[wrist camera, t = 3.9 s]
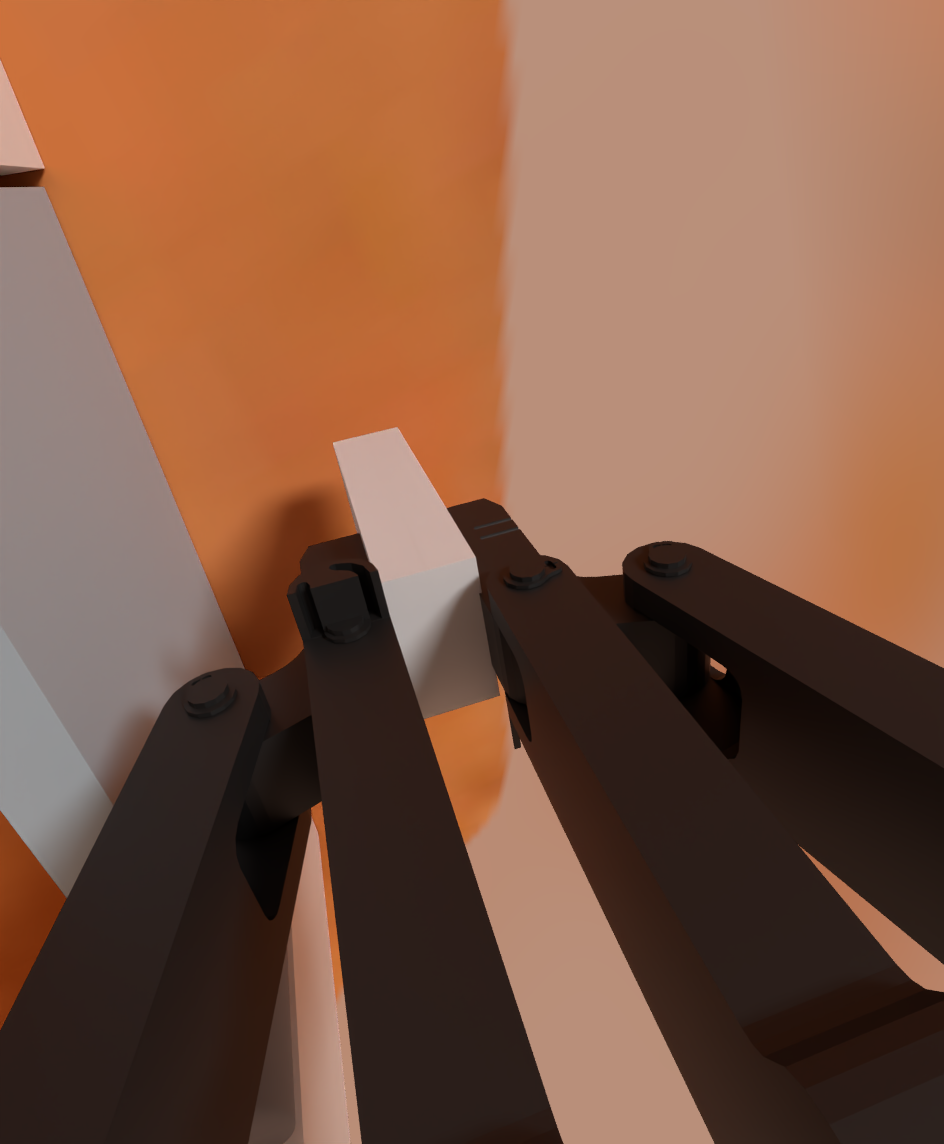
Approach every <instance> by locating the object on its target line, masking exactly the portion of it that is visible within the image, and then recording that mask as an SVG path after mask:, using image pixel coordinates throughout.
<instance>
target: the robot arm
mask: <svg viewBox="0 0 944 1144" xmlns="http://www.w3.org/2000/svg"><path fill="white" fill-rule="evenodd" d="M333 446H334V449H335V453H336V457H337V460H338V464H339V468H340V471H341V475H342V479H343V482H344V486H345V490H346V493H347V497H348V501H349V504H350V508H351V512H352V515H353V519H354V523H355V526H356V530H357V534H354V535H350V536H346V537H343V538H339V539H335V540H331V541H327V542H324V543H320V544H316V545H312V546H309V547H308V549H307V550H306V552H305V554H304V555H303V557H302V559H301V560H300V569H301V575H299V576H298V577H297V578H296V579H295V580H294V581H293V582H292V583H291V584H290V586H289V589H288V593H287V597H288V600H289V603H290V606H291V609H292V612H293V614H294V617H295V620H296V623H297V626H298V629H299V631H300V634H301V637H302V640H303V645H304V649H303V650H302V651H301V653H300V654H299V655H298V656H297V657H296V658H295V659H294V660H293V661H291V662H290V663H289V664H288V665H286V666H285V667H283V668H281V669H280V670H278V671H276V672H275V673H273V674H271V675H269V676H267V677H265V678H263V679H261V680H258V678H257V677H256V676H255V674H254V673H253V672H251V671H248V670H245V669H243V668H222V669H218V670H215V671H211V672H207V673H204V674H202V675H200V676H197V677H196V678H194V679H192V680H190V681H188V682H187V683H186V684H184V685H183V686H182V687H181V688H179V689H178V690H177V691H175V692H174V693H173V694H172V696H171V697H170V698H169V700H168V701H167V702H166V704H165V705H164V707H163V708H162V710H161V712H160V714H159V716H158V718H157V720H156V722H155V724H154V726H153V728H152V730H151V732H150V734H149V736H148V738H147V740H146V742H145V744H144V746H143V748H142V750H141V752H140V754H139V756H138V758H137V760H136V762H135V764H134V766H133V768H132V770H131V772H130V774H129V776H128V778H127V780H126V782H125V784H124V786H123V788H122V790H121V792H120V794H119V796H118V798H117V800H116V802H115V804H114V806H113V808H112V810H111V812H110V814H109V816H108V818H107V820H106V822H105V824H104V826H103V828H102V830H101V832H100V834H99V836H98V838H97V840H96V842H95V844H94V846H93V848H92V849H91V851H90V853H89V855H88V857H87V859H86V861H85V863H84V865H83V867H82V869H81V871H80V873H79V875H78V877H77V879H76V881H75V883H74V885H73V887H72V889H71V891H70V893H69V895H68V897H67V899H66V901H65V903H64V905H63V907H62V909H61V911H60V913H59V915H58V917H57V919H56V921H55V923H54V925H53V927H52V929H51V931H50V933H49V935H48V937H47V939H46V941H45V943H44V945H43V947H42V949H41V951H40V953H39V955H38V957H37V959H36V961H35V963H34V965H33V967H32V969H31V971H30V973H29V975H28V977H27V979H26V981H25V983H24V985H23V987H22V989H21V991H20V992H19V994H18V996H17V998H16V1000H15V1002H14V1004H13V1006H12V1008H11V1010H10V1012H9V1014H8V1016H7V1018H6V1020H5V1022H4V1024H3V1026H2V1028H1V1030H0V1144H248V1142H249V1137H250V1132H251V1127H252V1122H253V1117H254V1112H255V1107H256V1102H257V1096H258V1091H259V1086H260V1081H261V1076H262V1071H263V1066H264V1061H265V1056H266V1051H267V1046H268V1040H269V1035H270V1030H271V1025H272V1020H273V1015H274V1010H275V1005H276V1000H277V995H278V989H279V984H280V979H281V974H282V969H283V964H284V959H285V954H286V949H287V944H288V939H289V933H290V928H291V923H292V918H293V913H294V908H295V903H296V898H297V893H298V888H299V882H300V877H301V872H302V867H303V862H304V857H305V852H306V847H307V842H308V837H309V831H310V826H311V821H312V819H311V807H313V806H315V805H316V804H318V803H320V802H321V801H322V807H323V816H324V824H325V833H326V841H327V850H328V858H329V867H330V876H331V884H332V893H333V901H334V910H335V918H336V927H337V935H338V944H339V952H340V961H341V969H342V978H343V986H344V995H345V1003H346V1012H347V1020H348V1029H349V1038H350V1046H351V1054H352V1063H353V1072H354V1079H355V1089H356V1096H357V1106H358V1114H359V1122H360V1131H361V1140H362V1144H563V1141H562V1139H561V1136H560V1133H559V1131H558V1128H557V1125H556V1122H555V1119H554V1116H553V1113H552V1110H551V1107H550V1104H549V1101H548V1098H547V1095H546V1092H545V1089H544V1086H543V1083H542V1080H541V1077H540V1073H539V1071H538V1068H537V1064H536V1061H535V1058H534V1055H533V1052H532V1049H531V1046H530V1043H529V1040H528V1037H527V1034H526V1031H525V1028H524V1024H523V1022H522V1019H521V1015H520V1012H519V1010H518V1006H517V1003H516V1000H515V997H514V994H513V991H512V988H511V985H510V982H509V979H508V976H507V973H506V969H505V966H504V963H503V960H502V957H501V954H500V951H499V948H498V945H497V942H496V939H495V936H494V933H493V930H492V927H491V924H490V920H489V917H488V915H487V911H486V908H485V905H484V902H483V899H482V896H481V893H480V890H479V887H478V884H477V881H476V878H475V875H474V872H473V869H472V865H471V863H470V859H469V856H468V853H467V850H466V847H465V844H464V841H463V838H462V835H461V832H460V829H459V826H458V822H457V819H456V816H455V813H454V810H453V807H452V804H451V801H450V798H449V795H448V792H447V789H446V786H445V783H444V780H443V777H442V774H441V770H440V767H439V764H438V761H437V758H436V755H435V752H434V749H433V746H432V743H431V740H430V737H429V734H428V731H427V728H426V725H425V721H424V719H426V718H429V717H432V716H436V715H439V714H442V713H445V712H448V711H452V710H455V709H458V708H461V707H465V706H468V705H471V704H474V703H477V702H481V701H484V700H487V699H490V698H494V697H497V696H500V693H499V687H498V682H497V676H498V678H499V680H500V682H501V684H502V686H503V688H504V690H505V695H506V701H507V707H508V713H509V719H510V725H511V731H512V737H513V743H514V748H515V749H517V748H520V747H521V743H520V739H521V742H522V744H523V746H524V748H525V750H526V752H527V754H528V756H529V758H530V760H531V762H532V764H533V766H534V769H535V771H536V773H537V775H538V777H539V779H540V781H541V783H542V785H543V787H544V789H545V791H546V794H547V796H548V797H549V800H550V802H551V804H552V806H553V808H554V810H555V812H556V814H557V816H558V819H559V820H560V823H561V825H562V827H563V829H564V831H565V833H566V835H567V837H568V839H569V841H570V843H571V845H572V848H573V850H574V852H575V854H576V856H577V858H578V860H579V862H580V864H581V866H582V868H583V871H584V872H585V875H586V877H587V879H588V881H589V883H590V885H591V887H592V889H593V891H594V893H595V895H596V898H597V900H598V902H599V904H600V906H601V908H602V910H603V912H604V914H605V916H606V918H607V920H608V922H609V925H610V927H611V929H612V931H613V933H614V935H615V937H616V939H617V941H618V943H619V945H620V948H621V950H622V951H623V954H624V956H625V958H626V960H627V962H628V964H629V966H630V968H631V970H632V973H633V975H634V977H635V979H636V981H637V983H638V985H639V987H640V989H641V991H642V993H643V995H644V997H645V1000H646V1002H647V1004H648V1006H649V1008H650V1010H651V1012H652V1014H653V1016H654V1018H655V1020H656V1022H657V1024H658V1026H659V1029H660V1031H661V1033H662V1035H663V1037H664V1039H665V1041H666V1043H667V1045H668V1047H669V1049H670V1052H671V1054H672V1056H673V1058H674V1060H675V1062H676V1064H677V1066H678V1068H679V1070H680V1072H681V1074H682V1077H683V1078H684V1081H685V1083H686V1085H687V1087H688V1089H689V1091H690V1093H691V1095H692V1097H693V1099H694V1101H695V1104H696V1105H697V1108H698V1110H699V1112H700V1114H701V1116H702V1118H703V1120H704V1122H705V1124H706V1126H707V1128H708V1131H709V1133H710V1135H711V1137H712V1139H713V1141H714V1143H715V1144H944V992H939V991H933V990H927V989H925V988H923V987H922V986H920V985H919V984H917V983H915V982H914V981H913V980H911V979H910V978H909V977H908V976H907V975H906V974H905V973H904V972H903V971H902V970H901V969H900V968H899V966H897V964H896V963H895V962H894V961H893V959H892V958H891V957H890V956H889V955H888V953H887V952H886V951H885V950H884V949H883V947H882V946H881V945H880V944H879V942H878V941H877V940H876V939H875V938H874V937H873V935H872V934H871V933H870V932H869V930H868V929H867V928H866V927H865V926H864V924H863V923H862V922H861V921H860V919H859V918H858V917H857V916H856V915H855V913H854V912H853V911H852V910H851V909H850V907H849V906H848V905H847V904H846V902H845V901H844V900H843V899H842V898H841V897H840V895H839V894H838V893H837V892H836V890H835V889H834V888H833V887H832V885H831V884H830V883H829V882H828V881H827V880H826V878H825V877H824V876H823V875H822V873H821V872H820V871H819V870H818V869H817V868H816V866H815V865H814V864H813V862H812V861H811V860H810V859H809V858H808V856H807V855H806V854H805V853H804V852H803V850H802V849H801V848H800V847H802V848H803V849H804V850H805V851H806V852H808V853H809V854H810V855H811V856H813V857H814V858H815V859H816V860H817V861H819V862H820V863H821V864H822V865H823V866H825V867H826V868H827V869H828V870H830V871H831V872H832V873H833V874H834V875H836V876H837V877H838V878H839V879H841V880H842V881H843V882H844V883H846V884H847V885H848V886H849V887H850V888H851V889H853V890H854V891H855V892H856V893H858V894H859V895H860V896H861V897H862V898H864V899H865V900H866V901H867V902H868V903H870V904H871V905H872V906H873V907H875V908H876V909H877V910H878V911H880V912H881V913H882V914H883V915H884V916H886V917H887V918H888V919H889V920H890V921H892V922H893V923H894V924H895V925H896V926H898V927H899V928H900V929H901V930H902V931H904V932H905V933H906V934H907V935H909V936H910V937H911V938H912V939H913V940H915V941H916V942H917V943H918V944H919V945H921V946H922V947H923V948H924V949H926V950H927V951H928V952H929V953H930V954H932V955H933V956H934V957H935V958H937V959H938V960H939V961H940V962H941V963H943V964H944V668H942V667H940V666H938V665H936V664H934V663H932V662H930V661H928V660H926V659H924V658H922V657H920V656H918V655H916V654H914V653H912V652H910V651H908V650H906V649H904V648H902V647H899V646H897V645H895V644H893V643H891V642H889V641H887V640H885V639H883V638H881V637H879V636H877V635H875V634H873V633H871V632H869V631H867V630H865V629H863V628H861V627H859V626H857V625H855V624H853V623H851V622H849V621H847V620H845V619H843V618H841V617H839V616H837V615H835V614H833V613H831V612H829V611H827V610H825V609H823V608H821V607H819V606H816V605H815V604H813V603H811V602H808V601H806V600H804V599H802V598H800V597H798V596H796V595H794V594H792V593H790V592H788V591H786V590H784V589H782V588H780V587H778V586H776V585H774V584H772V583H770V582H768V581H766V580H764V579H762V578H760V577H758V576H756V575H754V574H752V573H750V572H748V571H746V570H744V569H742V568H740V567H738V566H736V565H734V564H732V563H730V562H727V561H725V560H723V559H721V558H719V557H717V556H715V555H713V554H711V553H709V552H707V551H705V550H703V549H701V548H699V547H696V546H692V545H690V544H686V543H679V542H672V541H663V542H655V543H651V544H648V545H645V546H641V547H638V548H636V549H635V550H633V551H632V552H630V553H629V554H627V556H626V558H625V559H624V561H623V563H622V566H623V575H612V576H602V577H579V576H576V575H575V574H574V573H573V571H572V570H571V569H570V568H569V567H568V566H567V565H566V564H565V563H563V562H562V561H561V560H559V559H556V558H553V557H549V556H545V555H540V554H539V553H538V552H537V550H536V549H535V548H534V547H533V545H532V544H531V543H530V542H529V540H528V539H527V538H526V536H525V535H524V534H523V533H522V531H521V530H520V529H518V526H517V525H516V524H515V522H514V521H513V520H511V517H510V516H509V515H508V513H507V512H506V511H505V509H504V508H503V507H502V506H501V505H498V504H496V503H494V502H491V501H489V500H487V499H484V498H483V499H479V500H476V501H472V502H468V503H464V504H460V505H457V506H453V507H449V508H446V507H445V505H444V504H443V502H442V500H441V499H440V497H439V495H438V494H437V492H436V490H435V489H434V487H433V485H432V484H431V482H430V480H429V479H428V477H427V475H426V474H425V472H424V470H423V469H422V467H421V465H420V464H419V462H418V460H417V459H416V457H415V455H414V454H413V452H412V450H411V449H410V447H409V446H408V444H407V442H406V441H405V439H404V437H403V436H402V434H401V432H400V431H399V429H398V427H396V428H391V429H387V430H383V431H379V432H375V433H371V434H367V435H362V436H358V437H354V438H350V439H346V440H342V441H338V442H333ZM710 658H712V659H714V660H715V661H717V662H718V663H720V664H721V665H723V666H724V667H725V668H726V669H727V671H726V674H724V673H722V672H720V671H718V670H717V669H715V668H714V667H712V666H711V665H710ZM496 674H497V676H496ZM799 846H800V847H799Z"/></svg>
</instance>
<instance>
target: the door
mask: <svg viewBox="0 0 944 1144" xmlns="http://www.w3.org/2000/svg"><path fill="white" fill-rule="evenodd" d="M222 668H243V669H245V668H244V666H243V663H242V661H241V658H240V656H239V654H238V651H237V649H236V646H235V644H234V642H233V639H232V637H231V634H230V632H229V630H228V627H227V625H226V622H225V620H224V618H223V615H222V613H221V610H220V608H219V606H218V603H217V601H216V598H215V596H214V594H213V591H212V589H211V586H210V584H209V582H208V579H207V577H206V574H205V572H204V570H203V567H202V565H201V562H200V560H199V558H198V555H197V553H196V550H195V548H194V546H193V543H192V541H191V538H190V536H189V534H188V531H187V529H186V526H185V524H184V522H183V519H182V517H181V514H180V512H179V510H178V507H177V505H176V502H175V500H174V498H173V495H172V493H171V490H170V488H169V485H168V483H167V481H166V478H165V476H164V473H163V471H162V469H161V466H160V464H159V461H158V459H157V457H156V454H155V452H154V449H153V447H152V445H151V442H150V440H149V437H148V435H147V433H146V430H145V428H144V425H143V423H142V421H141V418H140V416H139V413H138V411H137V409H136V406H135V404H134V401H133V399H132V397H131V394H130V392H129V389H128V387H127V385H126V382H125V380H124V377H123V375H122V373H121V370H120V368H119V365H118V363H117V361H116V358H115V356H114V353H113V351H112V349H111V346H110V344H109V341H108V339H107V337H106V334H105V332H104V329H103V327H102V325H101V322H100V320H99V317H98V315H97V313H96V310H95V308H94V305H93V303H92V301H91V298H90V296H89V293H88V291H87V289H86V286H85V284H84V281H83V279H82V277H81V274H80V272H79V269H78V267H77V265H76V262H75V260H74V257H73V255H72V253H71V250H70V248H69V245H68V243H67V241H66V238H65V236H64V233H63V231H62V229H61V226H60V224H59V221H58V219H57V217H56V214H55V212H54V209H53V207H52V205H51V202H50V200H49V197H48V195H47V193H46V190H45V188H44V187H0V811H1V812H2V813H3V815H4V816H5V817H6V819H7V820H8V821H9V822H10V824H11V825H12V826H13V828H14V829H15V830H16V832H17V833H18V834H19V836H20V837H21V838H22V840H23V841H24V842H25V844H26V845H27V846H28V848H29V849H30V850H31V852H32V853H33V854H34V855H35V857H36V858H37V859H38V861H39V862H40V863H41V865H42V866H43V867H44V869H45V870H46V871H47V873H48V874H49V875H50V877H51V878H52V879H53V881H54V882H55V883H56V885H57V886H58V887H59V888H60V890H61V891H62V892H63V894H64V895H65V896H66V898H67V897H68V895H69V893H70V891H71V889H72V887H73V885H74V883H75V881H76V879H77V877H78V875H79V873H80V871H81V869H82V867H83V865H84V863H85V861H86V859H87V857H88V855H89V853H90V851H91V849H92V848H93V846H94V844H95V842H96V840H97V838H98V836H99V834H100V832H101V830H102V828H103V826H104V824H105V822H106V820H107V818H108V816H109V814H110V812H111V810H112V808H113V806H114V804H115V802H116V800H117V798H118V796H119V794H120V792H121V790H122V788H123V786H124V784H125V782H126V780H127V778H128V776H129V774H130V772H131V770H132V768H133V766H134V764H135V762H136V760H137V758H138V756H139V754H140V752H141V750H142V748H143V746H144V744H145V742H146V740H147V738H148V736H149V734H150V732H151V730H152V728H153V726H154V724H155V722H156V720H157V718H158V716H159V714H160V712H161V710H162V708H163V707H164V705H165V704H166V702H167V701H168V700H169V698H170V697H171V696H172V694H173V693H174V692H175V691H177V690H178V689H179V688H181V687H182V686H183V685H184V684H186V683H187V682H188V681H190V680H192V679H194V678H196V677H197V676H200V675H202V674H204V673H207V672H211V671H215V670H218V669H222ZM295 1124H296V1122H295V1101H294V1080H293V1059H292V1039H291V1018H290V997H289V976H288V955H287V949H286V954H285V959H284V964H283V969H282V974H281V979H280V984H279V989H278V995H277V1000H276V1005H275V1010H274V1015H273V1020H272V1025H271V1030H270V1035H269V1040H268V1046H267V1051H266V1056H265V1061H264V1066H263V1071H262V1076H261V1081H260V1086H259V1091H258V1096H257V1102H256V1107H255V1112H254V1117H253V1122H252V1127H251V1132H250V1137H249V1142H248V1144H284V1143H285V1142H286V1141H287V1140H288V1139H289V1138H290V1136H291V1135H292V1133H293V1132H294V1129H295Z"/></svg>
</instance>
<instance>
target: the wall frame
mask: <svg viewBox="0 0 944 1144" xmlns="http://www.w3.org/2000/svg"><path fill="white" fill-rule="evenodd" d="M39 169H45V167H44V165H43V163H42V160H41V158H40V155H39V153H38V150H37V148H36V145H35V143H34V141H33V138H32V136H31V133H30V131H29V128H28V126H27V124H26V121H25V119H24V116H23V114H22V111H21V109H20V107H19V104H18V102H17V99H16V97H15V94H14V92H13V90H12V87H11V85H10V82H9V80H8V77H7V75H6V72H5V70H4V68H3V65H2V63H1V60H0V176H3V175H9V174H15V173H21V172H27V171H33V170H39ZM311 819H312V817H311ZM287 955H288V976H289V997H290V1018H291V1039H292V1059H293V1080H294V1101H295V1122H296V1124H295V1129H294V1132H293V1133H292V1135H291V1136H290V1138H289V1139H288V1140H287V1141H286V1142H285V1143H284V1144H351V1142H350V1132H349V1122H348V1113H347V1103H346V1093H345V1084H344V1074H343V1065H342V1055H341V1046H340V1036H339V1027H338V1017H337V1007H336V998H335V988H334V979H333V969H332V960H331V950H330V940H329V931H328V921H327V912H326V902H325V893H324V883H323V874H322V864H321V854H320V845H319V835H318V832H317V829H316V827H315V824H314V822H313V820H312V821H311V826H310V831H309V837H308V842H307V847H306V852H305V857H304V862H303V867H302V872H301V877H300V882H299V888H298V893H297V898H296V903H295V908H294V913H293V918H292V923H291V928H290V933H289V939H288V944H287Z"/></svg>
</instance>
